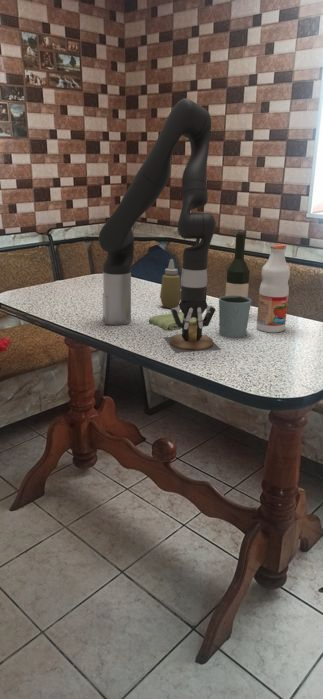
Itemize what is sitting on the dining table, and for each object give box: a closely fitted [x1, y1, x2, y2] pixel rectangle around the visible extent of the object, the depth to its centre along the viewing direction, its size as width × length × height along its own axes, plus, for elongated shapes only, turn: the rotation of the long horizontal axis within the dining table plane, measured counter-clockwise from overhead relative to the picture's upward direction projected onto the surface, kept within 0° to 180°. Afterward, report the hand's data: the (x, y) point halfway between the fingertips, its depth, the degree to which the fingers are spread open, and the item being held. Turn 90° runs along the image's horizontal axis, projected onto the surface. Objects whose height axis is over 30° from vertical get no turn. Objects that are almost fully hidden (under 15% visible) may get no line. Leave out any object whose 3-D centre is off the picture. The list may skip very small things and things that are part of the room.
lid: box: [170, 323, 214, 352], centre depth 158 cm, size 13×13×6 cm
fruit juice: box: [256, 243, 291, 334], centre depth 171 cm, size 9×9×28 cm
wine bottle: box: [224, 230, 251, 298], centre depth 185 cm, size 8×8×30 cm
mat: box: [163, 334, 222, 354], centre depth 159 cm, size 14×14×1 cm
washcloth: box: [148, 311, 204, 332], centre depth 179 cm, size 13×18×3 cm
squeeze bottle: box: [159, 258, 181, 309], centre depth 197 cm, size 8×8×18 cm
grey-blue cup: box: [218, 295, 252, 339], centre depth 167 cm, size 10×10×12 cm
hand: (191, 339), depth 158 cm, fingers closed on lid, 3 cm apart
